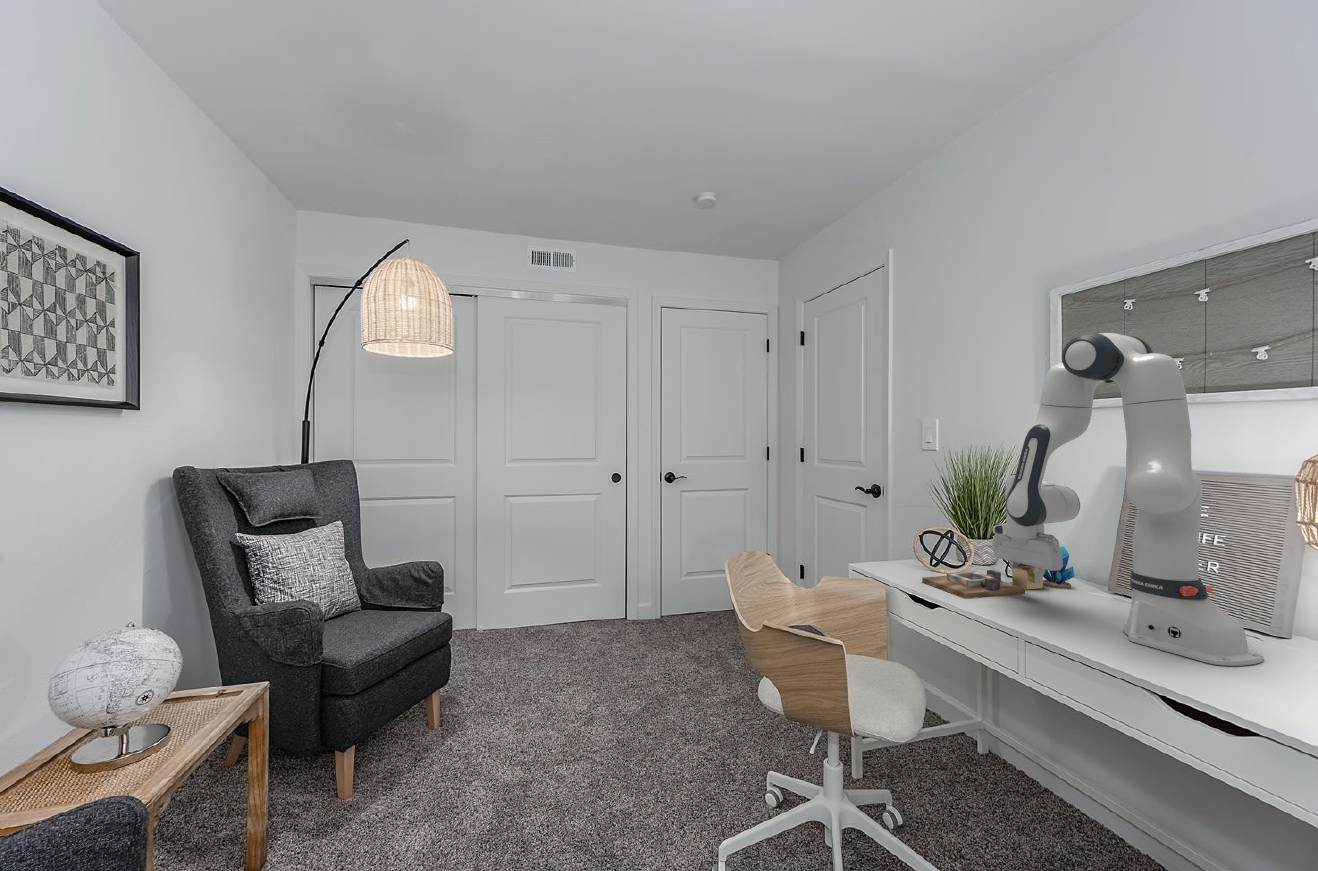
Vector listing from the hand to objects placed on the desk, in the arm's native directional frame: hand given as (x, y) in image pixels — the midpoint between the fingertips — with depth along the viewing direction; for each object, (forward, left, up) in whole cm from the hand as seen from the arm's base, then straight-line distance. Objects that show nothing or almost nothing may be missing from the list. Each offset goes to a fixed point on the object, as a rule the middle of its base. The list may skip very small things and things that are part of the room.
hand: (1027, 580), depth 158 cm
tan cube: (0, 0, -2) cm, 2 cm away
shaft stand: (+14, +6, -5) cm, 16 cm away
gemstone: (+10, -20, -5) cm, 23 cm away
